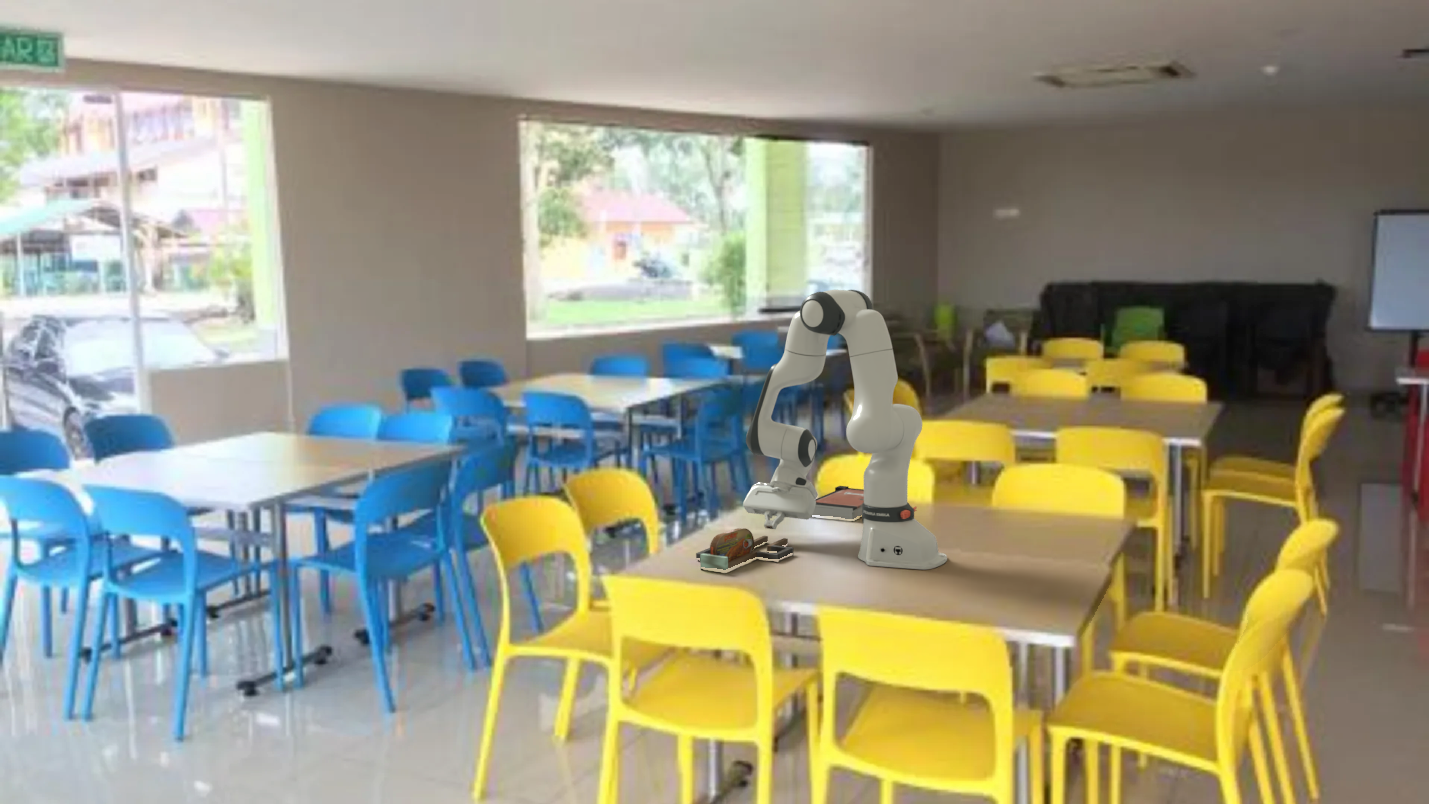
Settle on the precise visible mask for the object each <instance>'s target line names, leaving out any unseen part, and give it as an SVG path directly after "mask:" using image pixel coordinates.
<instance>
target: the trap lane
mask: <svg viewBox="0 0 1429 804" xmlns="http://www.w3.org/2000/svg"><path fill="white" fill-rule="evenodd" d="M767 541H768V542H769V536H768V535H762V536H759V537H758V538H756V539H755V538H754V547H755V546H757V545H760V544H762V543H763V542H767ZM787 543H788V544H789V539H788V538H785V537H784V538H781V539H779V540H777V541H774V542H772V543H768V545H767V544H766V551H759V550H753V552H751V553H749V554H746V555H744V556H742V557H739V558H737V559H735V560H733V561H730V562H728V557H725V556H718V555H710V547H708V548H705V549H703V550H701V551H698V552H695V557H696V558H700V561H699V562H700V568H701V567H705V568H717V569H723V570H726V569H728V568H731V567H733V566H735V565H738V564H740V563H742V562H746V561H747V560H749V559H753V558H755V557H763V558H768V559H780V558H782V557H784V556H787V555H788V554H790V553H793V554H794V547H792V546H791V547H790V546H787V547H784V546H782V545H786V544H787ZM767 551H777V553H769V552H767Z"/></svg>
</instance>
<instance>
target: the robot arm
mask: <svg viewBox="0 0 1429 804" xmlns="http://www.w3.org/2000/svg"><path fill="white" fill-rule="evenodd" d="M837 334H839V335H841V336H842V337H843V338H844V339H845V340H846V341H845V342H846V344H847V349H848V354H849V361H850V367H851V373H852V379H853V387H854V389H853V390H854V396H853V399H854V400H853V407H852V408H853V409H852V414H851V418H850V420H849V421H848V423H847V426H846V429H845V431H846V432H845V433H846V439H847V442H848V443H849V445H850V447H852V449H854V450H855V451H857V452H860V453H863V454H871V457H870V459H869V463H868V465H867V467H866V468H865V470H864V473H863V489H864V502H863V503H862V518H861V519H862V520H861V521H862V524H863V525H862V536H861V543H860V546H859V552H858V555H857V558H858V559H859V560H861V561H863V562H864V563H865V564H866V565H867V566H869V567H870V566H873V567H882V568H883V567H886V568H899V569H912V570H931V569H935V568H937V567H940V566H942V565H944V564H946V562H947V561H948V556H947V554H946V553H943V552H939V546H938V540H937V537H936V535H935V534H934V533H932V532H931V531H930V530H929V529H927V528H926V527H925V526H924V525H923V524H922V523H920V522H919V520H917V519H916V518H915V512H917V511H918V510H917V507H918V506H914V507H913V506H912V505H911V504H910V503H909V501H908V481H909V479H908V478H909V476H908V475H909V469H910V464H911V460H912V458H911V457H912V454H913V450H914V447H915V443H916V441H917V439H918V437H919V436H920V434H921V432H922V430H923V419H922V416H921V414H920V413H919V411H918V410H917V409H916V408H915V407H913V406H912V405H908V404H902V403H893V398H894V392H895V387H896V385H897V383H898V380H899V379H898V378H899V376H898V371H897V365H896V360H895V354H894V349H893V348H894V347H893V344H892V339H891V336H890V332H889V330H888V326H887V324H886V321H885V319H884V316H883V315H882V314H881V313H880V312H879V311H877V310H875V309H874V308H873V304H872V301H871V300H870V297H869V296H868V295H867V294H866V293H864V292H862V291H860V290H855V289H847V290H845V289H829V290H824V291H816V292H813V293H812V294H810V295H807V297H805V298H804V300H803V301H802V303H801V304H800V310H798V311H797V312H795V313H794V314H793V316H792V318H791V321H790V325H789V328H788V332H787V334H786V339H785V340H786V341H785V345H784V353H783V354H782V357H781V358H780V360H779V361H778V362H777V363H775V364H772V365H771V367H770V369H769V371H768V372H767V375H766V378H765V381H764V384H763V386H762V389H761V392H760V394H759V395H760V396H759V398H758V402H757V406H756V409H755V412H754V414H753V415H754V416H753V418H752V420H751V422H750V425H749V428H748V430H747V432H746V437H745V444H746V445H747V448H748V450H750V452H751V453H752V454H753V455H756V456H761V457H762V456H763V457H771V458H773V459H774V458H775V459H778V460H779V464H778V465H777V467H776V469H775V471H774V473H773V476H772V477H771V480H770V482H769V483H768V482H757V483H755V484H753V485H752V486H751V488H750V490H749V491H748V493H747V494H746V496H745V499H744V500H743V502H742V506H743V508H744V509H745V511H746V513H748V514H755V515H762V516H763V515H764V519H765V521H764V524H763V526H764V528H765V529H769V530H776V529H777V527H778V525H779V524H781V523H782V522H783V521H784V520H785V518H790V519H798V520H799V519H800V520H806V521H807V520H809V519H812V518H811V517H812V515H813V512H814V509H815V505H816V500H815V499H817V498H818V495H819V494H818V491H817V489H816V487H815V486H814V484H813V483H812V482H811V481H810V480H809V479H807V475H808V473H810V471H811V469H812V466H813V463H814V461H815V456H816V453H817V448H818V441H817V438H815V436H814V435H813V433H812V432H811V431H810V430H809V429H807V428H804V427H801V426H797V425H792V424H791V425H790V424H786V423H781V422H778V421H774V420H773V419H772V415H773V413H774V408H775V405H776V403H777V399H778V396H779V393H780V392H781V390H782V389H784V388H789V387H793V386H800V385H804V384H807V383H810V382H813V381H814V380H815V379H817V378H818V377H819V376H820V375H821V374H822V372H823V371H824V366H825V363H826V357H827V351H828V342H829V339H830V337H831V336H832V337H833V336H837ZM773 517H775V518H774V519H773ZM771 519H773V520H771Z"/></svg>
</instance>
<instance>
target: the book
mask: <svg viewBox="0 0 1429 804" xmlns="http://www.w3.org/2000/svg"><path fill="white" fill-rule="evenodd" d="M815 500H816V505H815V509H814V512H813V515H820V516H833V517H841V518H845V519H854V518H856V517H857V516H861V515H862V503H863V502H864V488H862V489H861V488H853V487H851V488H850V487H849V486H848V485H847V486H846V485H838V486H835V487H834V491H832V492H829V493H826V494H824V495H822V496H819V497H817V498H816V499H815Z"/></svg>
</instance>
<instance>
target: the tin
mask: <svg viewBox="0 0 1429 804" xmlns="http://www.w3.org/2000/svg"><path fill="white" fill-rule="evenodd" d="M754 540H755V538H754V535H753V533H752V532H751V530H749V528H742V527H741V528H740V527H739V528H734V529H731V530H728V531H725V532H722V533H719V534H716V535H715V536H714V537H713V538H712V540H711V542H710V544H709V548H710V555H718V556H725V557H728V562H730V561H733V560H735V559H737V558H739V557H742V556H744V555H746V554H749V553H751V552H753V551H754V550H755V549H754ZM753 549H754V550H753Z"/></svg>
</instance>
